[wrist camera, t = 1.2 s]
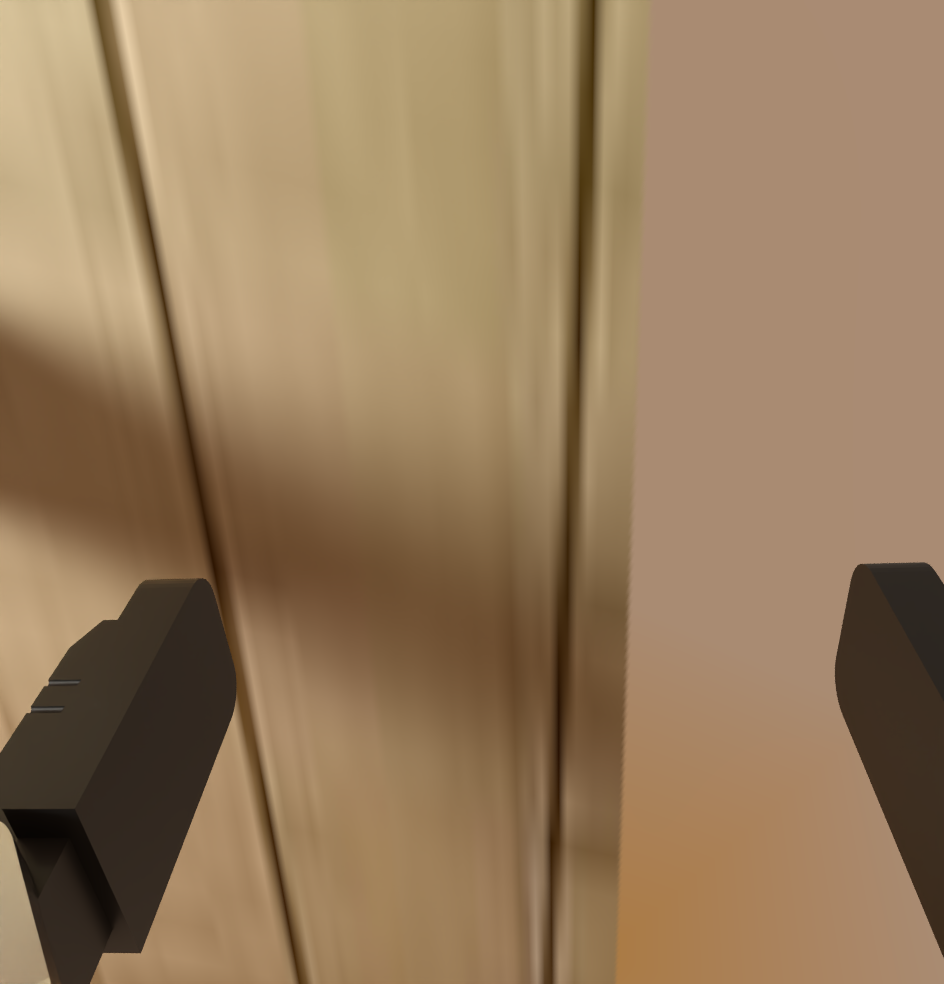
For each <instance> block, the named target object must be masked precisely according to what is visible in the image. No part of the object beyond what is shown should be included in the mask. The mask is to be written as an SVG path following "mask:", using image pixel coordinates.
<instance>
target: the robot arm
mask: <svg viewBox="0 0 944 984" xmlns="http://www.w3.org/2000/svg"><path fill="white" fill-rule="evenodd" d="M835 683H836V691H837V697H838V702H839V705H840V709H841V712H842V714H843V717H844V719H845V722H846V724H847V726H848V729H849V731H850V734H851V736H852V738H853V740H854V743H855V745H856V748H857V750H858V753H859V755H860V757H861V760H862V762H863V765H864V767H865V770H866V772H867V774H868V777H869V779H870V782H871V784H872V786H873V789H874V791H875V794H876V796H877V798H878V801H879V803H880V806H881V808H882V810H883V813H884V815H885V818H886V820H887V823H888V825H889V827H890V830H891V832H892V834H893V837H894V839H895V842H896V844H897V847H898V849H899V851H900V853H901V856H902V859H903V861H904V863H905V866H906V868H907V871H908V873H909V875H910V878H911V880H912V883H913V885H914V887H915V890H916V892H917V895H918V897H919V899H920V902H921V904H922V907H923V909H924V911H925V914H926V916H927V919H928V921H929V924H930V926H931V928H932V931H933V933H934V935H935V938H936V940H937V943H938V945H939V948H940V950H941V952H942V955H943V957H944V584H943V582H942V581H941V580H940V578H939V576H938V575H937V573H936V572H935V571H934V569H933V568H932V567H931V566H930V565H929V564H927V563H882V564H860V565H858V566H857V567H856V568H855V570H854V572H853V575H852V579H851V583H850V588H849V593H848V598H847V604H846V609H845V614H844V619H843V625H842V630H841V635H840V641H839V645H838V651H837V656H836V663H835ZM235 700H236V673H235V668H234V664H233V660H232V656H231V653H230V649H229V646H228V642H227V639H226V635H225V631H224V628H223V624H222V621H221V617H220V614H219V610H218V606H217V603H216V599H215V596H214V592H213V589H212V587H211V585H210V584H209V582H208V581H207V580H206V579H203V578H200V579H160V580H145V581H143V582H142V583H141V584H140V585H139V586H138V588H137V589H136V591H135V593H134V594H133V596H132V597H131V599H130V601H129V602H128V604H127V606H126V607H125V609H124V610H123V612H122V614H121V615H120V617H119V619H118V620H103V621H102V622H101V623H99V624H98V625H97V626H96V627H94V628H93V629H92V630H91V631H90V632H88V633H87V634H86V635H85V636H84V637H82V638H81V639H80V640H79V641H77V642H76V643H75V644H74V645H73V646H71V647H70V648H69V650H68V651H67V653H66V654H65V656H64V657H63V659H62V660H61V662H60V663H59V665H58V666H57V668H56V669H55V671H54V672H53V674H52V675H51V677H50V678H49V685H48V686H44V687H43V689H42V691H41V692H40V694H39V695H38V697H37V698H36V700H35V701H34V703H33V704H32V706H31V713H26V715H25V716H24V718H23V719H22V721H21V722H20V724H19V725H18V727H17V728H16V730H15V732H14V733H13V735H12V736H11V738H10V739H9V741H8V742H7V744H6V745H5V747H4V748H3V750H2V751H1V753H0V984H90V982H91V979H92V977H93V975H94V972H95V970H96V968H97V965H98V963H99V960H100V958H101V956H102V953H141V951H142V949H143V946H144V944H145V941H146V938H147V936H148V933H149V931H150V928H151V925H152V923H153V920H154V918H155V915H156V912H157V910H158V907H159V905H160V902H161V900H162V897H163V894H164V892H165V889H166V887H167V884H168V881H169V879H170V876H171V874H172V871H173V868H174V866H175V863H176V861H177V858H178V855H179V853H180V850H181V848H182V845H183V842H184V840H185V837H186V835H187V832H188V830H189V827H190V824H191V822H192V819H193V817H194V814H195V811H196V809H197V806H198V804H199V801H200V798H201V796H202V793H203V791H204V788H205V785H206V783H207V780H208V778H209V775H210V773H211V770H212V767H213V765H214V762H215V760H216V757H217V754H218V752H219V749H220V747H221V744H222V741H223V739H224V736H225V734H226V731H227V728H228V726H229V723H230V721H231V718H232V715H233V711H234V707H235Z"/></svg>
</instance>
